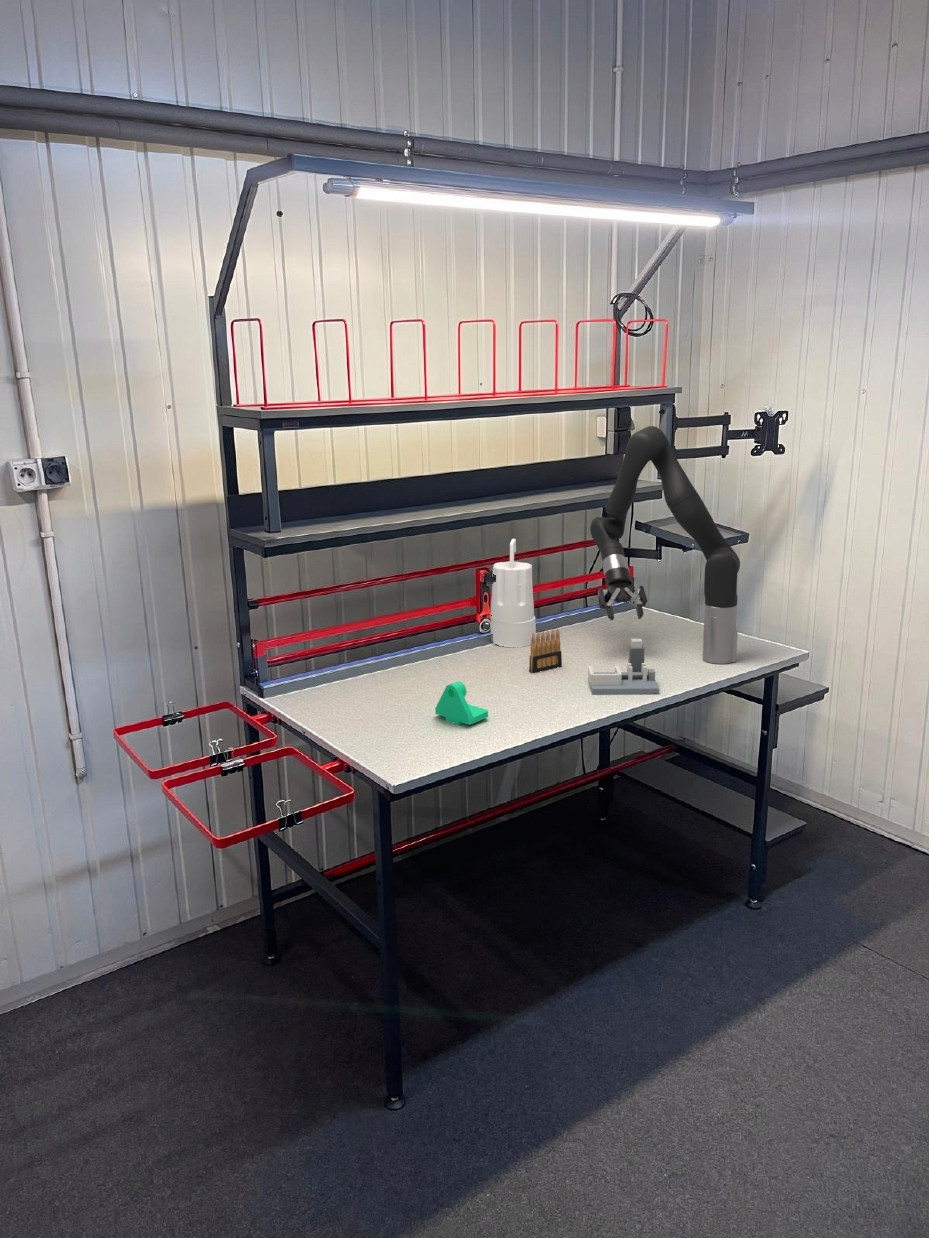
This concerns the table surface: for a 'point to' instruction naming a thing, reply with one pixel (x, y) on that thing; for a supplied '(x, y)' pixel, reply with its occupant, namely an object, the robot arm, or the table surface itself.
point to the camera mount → (458, 706)
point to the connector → (636, 655)
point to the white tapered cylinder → (512, 603)
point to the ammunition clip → (545, 652)
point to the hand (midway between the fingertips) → (626, 618)
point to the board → (623, 681)
